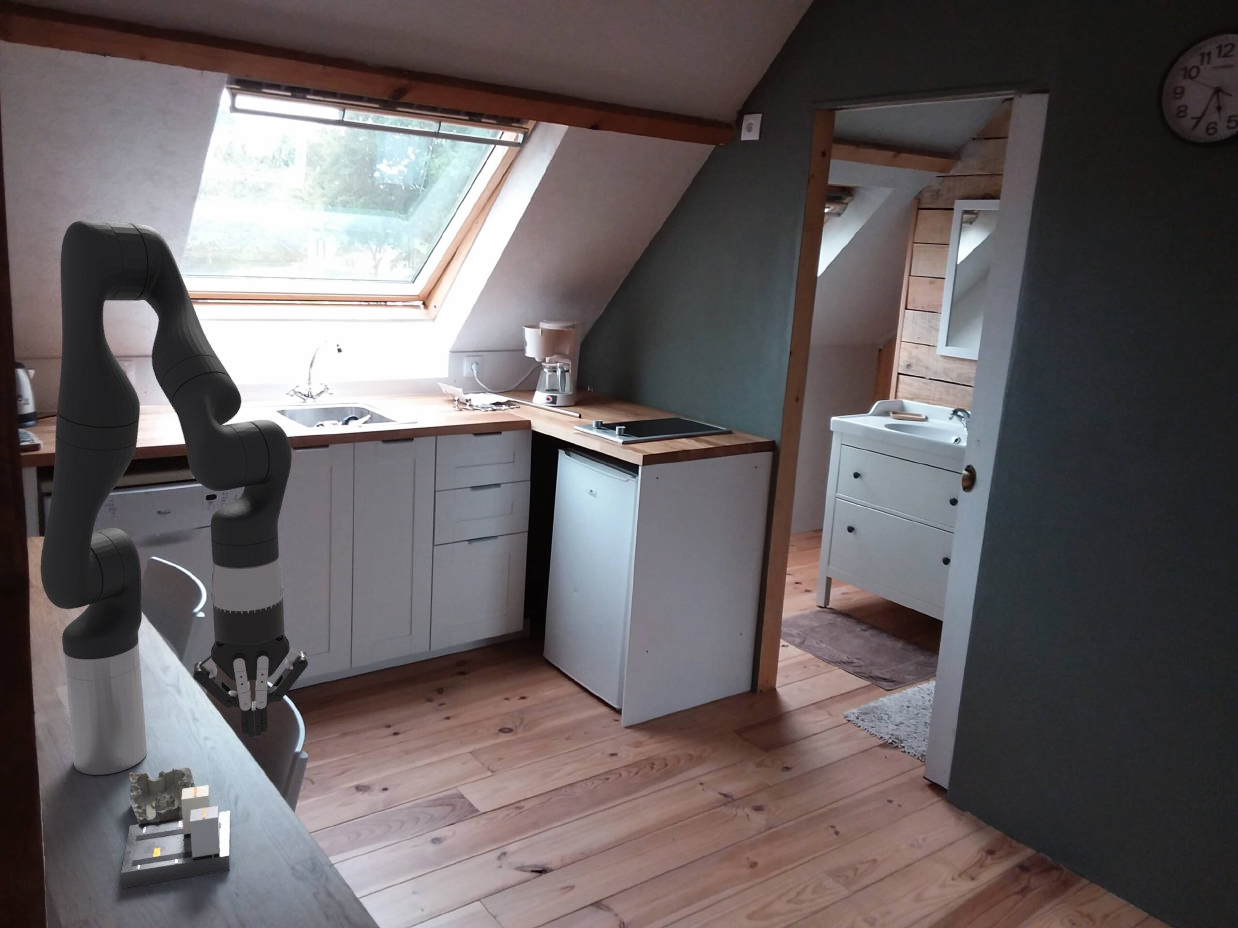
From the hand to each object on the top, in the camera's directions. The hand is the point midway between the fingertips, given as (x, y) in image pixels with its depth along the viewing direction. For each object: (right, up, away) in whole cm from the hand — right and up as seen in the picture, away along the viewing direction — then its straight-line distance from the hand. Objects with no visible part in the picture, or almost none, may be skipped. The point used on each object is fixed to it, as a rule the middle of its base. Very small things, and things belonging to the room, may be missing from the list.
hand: (254, 733), depth 117 cm
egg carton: (-16, -13, +12) cm, 24 cm away
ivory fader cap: (-9, -13, +6) cm, 17 cm away
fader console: (-11, -16, +4) cm, 19 cm away
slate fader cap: (-6, -14, +1) cm, 16 cm away
